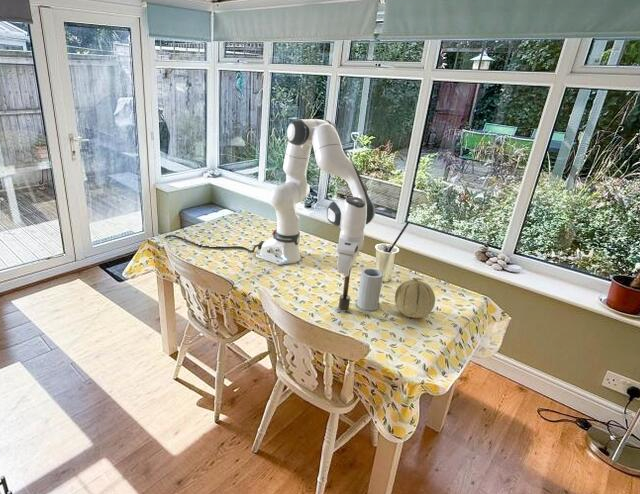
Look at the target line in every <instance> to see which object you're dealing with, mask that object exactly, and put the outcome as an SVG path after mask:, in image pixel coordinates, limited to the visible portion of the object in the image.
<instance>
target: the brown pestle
mask: <svg viewBox="0 0 640 494" xmlns="http://www.w3.org/2000/svg"><path fill="white" fill-rule="evenodd" d="M350 270H351V271H352V269H351V268H350ZM350 270H349V271H350ZM350 278H351V272H349V276H348V277H346V276H344V279H343V280H344V282H343V288H342V290H343V291H342V294H340V295H339V300H338V309H339V310H341V311H349V310H350V304H351V303H350V301H351V296H350V295H348V293H349V287H350Z"/></svg>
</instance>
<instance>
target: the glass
mask: <svg viewBox="0 0 640 494" xmlns="http://www.w3.org/2000/svg"><path fill="white" fill-rule="evenodd" d="M409 224H410V223H409V222H407V221H406V223H405V225H404V226H403V228H402V229H401V231H400V232H399V234H398V236H397V237H396V238H395V240H394V242H393V243H392V244H389V243H378V244H376V245H375V247H374V248H375V269H378V270H380V271H381V272H382V273H383V278H382V283H386V282H390V280H391V275H392V271H393V268H394V265H395V263H396V259H397V256H398V253H399V251H400V248H398V247H397V246H396V244H397V243H398V241H399V240H400V238H401V236H402V235H403V233H404V232H405V231H406V229H407V227H408V226H409Z"/></svg>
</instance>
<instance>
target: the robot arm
mask: <svg viewBox="0 0 640 494" xmlns="http://www.w3.org/2000/svg"><path fill="white" fill-rule="evenodd" d="M286 138H287V145H286V149H285V153H284V159H283V164H282V165H283V166H282V170H283V173H285V182H284V183H282V184H279V185H277V186H275V187H274V188H273V189H271V190H270V192H269V194H268V202H269V205H271V207H272V208H273V209H274V210H275V215H276V227H275V229H274V230H273V231H272V232H271V237H269V238H267V239H266V240H260V242H259V243H258V244H255V245H254V246H253V248H252V250H251V249H249V248H247V247H244V246H240V245H234V246H233V245H231V246H216V247H209V246H210V245H206V246H202V245H203V244H200V245H198V244H199V243H197V244H194V243H195V242H194V241H191V240H188V239H187V238H185V237H182V236H179V235H174V234H167V235H166V236H165V237H164V239H168V238H176V239H180V240H183V241H185V242H187V243H189V244H192V245H195V246H198V247H202V248H209V249H243V250H245V251H247V252H250V253H253V252H255V250H256V248H257V252H256V253H255V256H256V258H258V259H261V260H263V261H264V260H265V261H267V262H270V263H273V264H277V265H278V266H282V265H285V264H286V265H287V264H294V263H298V262H299V261H300V260H301V258H302V257H301V251H300V239H301V232H300V223H301V218H300V215H299V214H298V213H297V211H296V205H297V204H298V203H300V202H303V201H304V200H306V199H307V197H309V195H310V191H311V188H310V185H309V183H308V182H307V172H308V166H309V161H310V156H311V151H312V148H313V154H314V158H315V162H316V165H317V166H318V168H319V169H320V170H321V171H323V172H324V173H326V174H329V175H332V176H336V177H338V178H341V179H342V180H344V181H345V182H346V183H347V185H348V187H349V190H350V192H351V195H352V196H349V197H347V198H345V199H342V200H341V199H340V200H335V201H331V202H330V203H329V205H328V207H327V209H326V218H327V221H328V222H329V223H330V224H331V225H333V226H335V227H338V228H340V231H339V237H338V243H337V246H336V252H337V259H336V270H337V273H339V274H343V277H345V276H346V277H348V276H349V272H350V273H351V272H352V268H353V265H354V263H355V261H356V260H357V258H358V256H359V254H360V251H361V249H363V247H364V241H365V227H366V225H368V224H370V223H371V222H372V221H373V219H374V217H375V215H376V207H375V204H374V203H373V201H372V199H371V198H370V196H369V194H368V192H367V190H366V187H365V185H364V182H363V180H362V178H361V175H360V173H359V171H358V169H357V166H356V164H355V163H354V162H353V161H351V160H350V159H349V158H348V156H347V155H346V154H345V153H346V152H345V151H344V150H343V145H342V141H341V138H340V136H339V133H338V127H337V125H336V123H335V122H333V121H331V120H328V119H326V120H325V119H319V118H312V119H311V118H309V119H307V118H306V119H300V118H298V119H297V118H296V119H293V120H291V121H290V122H289V123H288V125H287V128H286ZM183 238H184V239H183ZM350 268H351V270H350ZM349 270H350V271H349Z"/></svg>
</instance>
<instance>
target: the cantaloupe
mask: <svg viewBox="0 0 640 494" xmlns="http://www.w3.org/2000/svg"><path fill="white" fill-rule="evenodd" d="M394 302H395V306H396V308H397V310H398V311H399V312H400V313H401V314H402V315H403V316H404V317H407V318H411V319H412V318H413V319H421V318H425V317H427V316H429V315H430V314H431V313H432V311H433V310H434V307H435V303H436V295H435V292H434V290H433V288H432V287H431V286H430V285H429V284H428V283H426V282H424V281H422V280H419V279H417V278H416V277H413V278H412V279H411V280H406V281H403V282H402V283H401V284H399V286H398V287H397V288H396V290H395V294H394Z"/></svg>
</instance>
